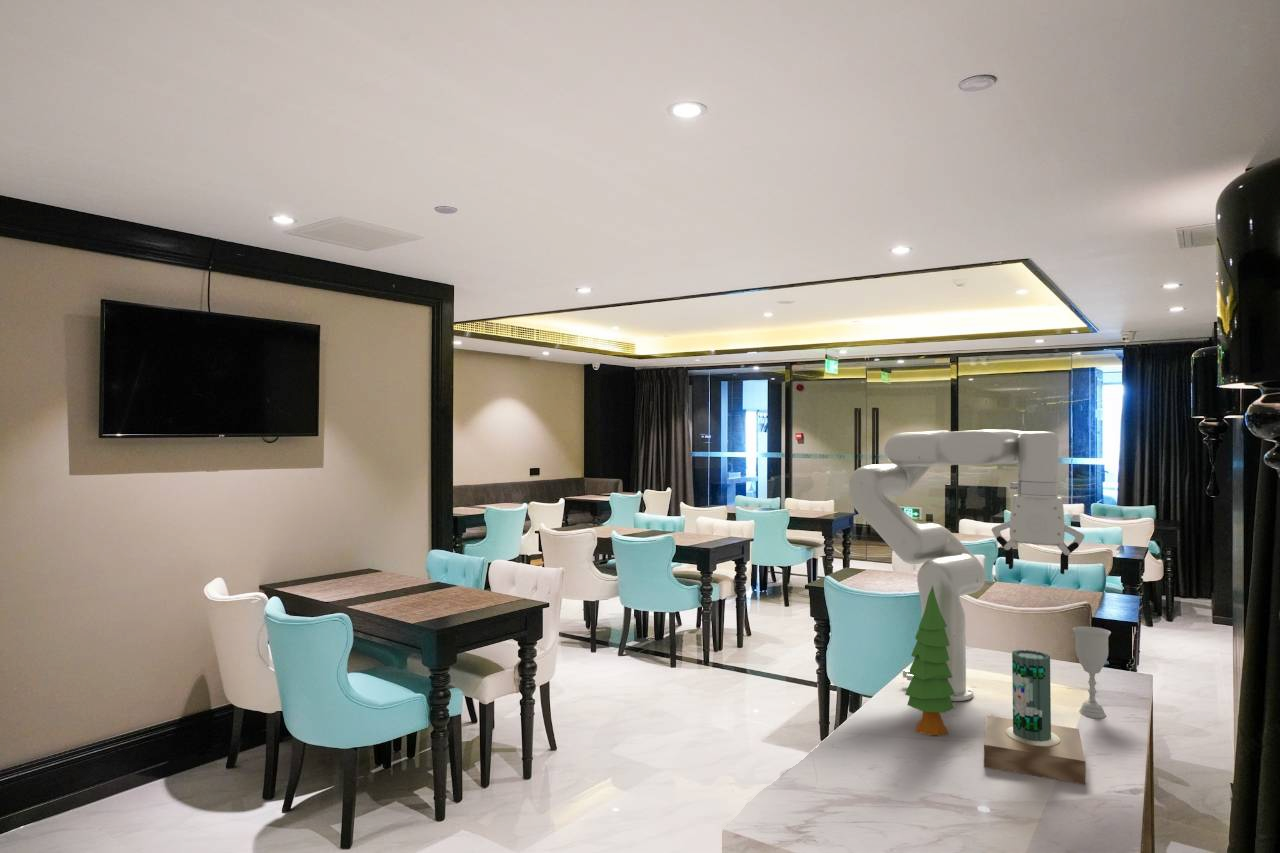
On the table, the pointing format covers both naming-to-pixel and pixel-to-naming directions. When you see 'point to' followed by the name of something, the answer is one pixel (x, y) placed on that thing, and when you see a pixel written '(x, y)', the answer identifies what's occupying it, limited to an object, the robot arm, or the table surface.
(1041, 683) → the can
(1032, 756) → the walnut base
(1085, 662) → the chalice
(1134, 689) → the table surface
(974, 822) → the table surface
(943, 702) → the decorative tree
